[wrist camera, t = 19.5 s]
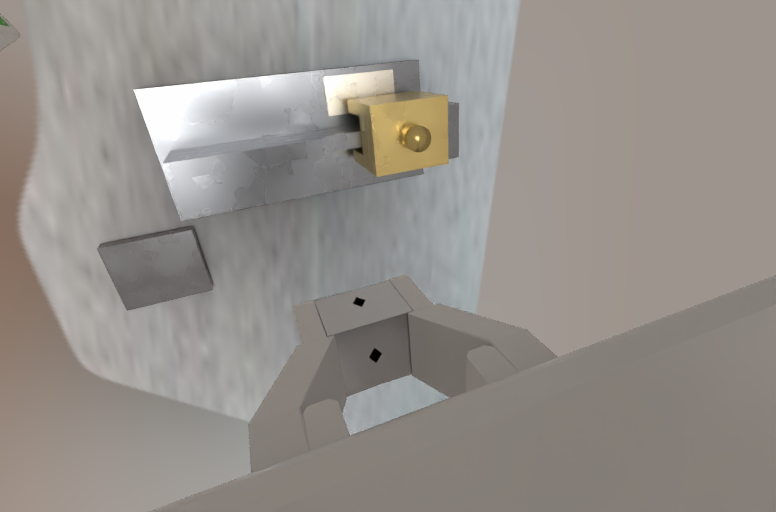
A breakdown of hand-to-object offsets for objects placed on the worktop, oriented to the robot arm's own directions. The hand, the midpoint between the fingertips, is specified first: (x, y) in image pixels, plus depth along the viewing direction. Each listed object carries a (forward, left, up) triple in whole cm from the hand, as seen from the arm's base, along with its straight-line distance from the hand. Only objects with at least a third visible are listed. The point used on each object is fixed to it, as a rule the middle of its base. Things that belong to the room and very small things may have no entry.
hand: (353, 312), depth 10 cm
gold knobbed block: (0, -10, -25) cm, 27 cm away
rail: (0, -3, -27) cm, 27 cm away
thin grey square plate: (-9, +11, -27) cm, 31 cm away
